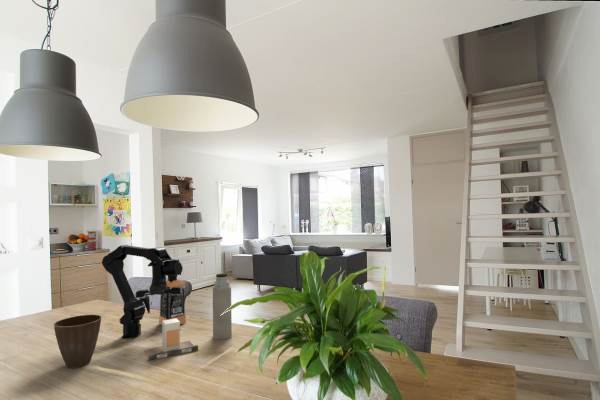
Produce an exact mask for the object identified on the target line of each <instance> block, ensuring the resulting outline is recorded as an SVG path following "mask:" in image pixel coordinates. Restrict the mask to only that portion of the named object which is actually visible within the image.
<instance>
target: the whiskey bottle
mask: <svg viewBox="0 0 600 400" xmlns="http://www.w3.org/2000/svg"><path fill="white" fill-rule="evenodd" d="M172 260H176V259H175V258H172ZM166 277H167V279H166V282H167V289H171V288H172V287H179V286H181V287H182V293H181V294H179V295H178V296H177V297H176V299H175V301H174V304H173V308H172V311H170V302H171V297H170V296H171V295H172V293H165V294H160V300H159V301H160V302H159V303H160V304H159V305H160V306H159V307H160V308H159V309H160V311H159V317H158V325H159V326H162V321H164V320H170V319H176V318H177V319H178V320H179V321H180V325H184V324H186V323H187V319H186V318H187V317H186V314H185V313H186V312H185V307H186V306H185V305H186V304H185V288H186V283H185V282H183V281H181V279H178V275H169V276H168V275H166Z"/></svg>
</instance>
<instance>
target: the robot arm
mask: <svg viewBox="0 0 600 400" xmlns="http://www.w3.org/2000/svg"><path fill="white" fill-rule="evenodd" d="M127 256H135V257H141V258H144V259H146V260H148V261H150V262H149V263H148V264H147V267H151V274H152V275H151V283H150V286H149V289H148V288H146V289H138V290H137V291H136V292H135V293H134V291H133V289H132V287H131V284H130V283H129V281H128V278H127V276H126V274H125V271H124V266H125V263H124V261H125V259H126V258H127ZM172 259H173V258H172V257H171V256H170V254H169V253H168V251H167V250H166V247H163V246H162V247H152V248H151V247H150V248H149V247H141V246H134V245H129V244H124V245H119V246H118V247H117V248H116V249H114V250H112V251H110V252H109V253H108V254H107V255H104V257H102V260H101V264H102V266H103V268H104V269H105V271H106V272H107V273H109V274H110V275H111V276H112V278H113V282H114V283H115V285H116V287H117V290H118V293H119V294H120V296H121V299H122V302H123V309H122V310H123V313H124V314H123V315H122V316H121V317H120V318H119V319H118V320H119V324H120V325H122V336H121V338H122V339H127V338H137V337H138V336H139V335H141V333H142V324H141V322H140V321H141V320H143V317H144V316H145V313H146V311H147V313H148V314H150V313H151V311H150V310H151V306H150V305H151V304H150V303H151V302H150V296H154V295H158V296H159V295H160V296H161V294H165V293H172V295H171V296H170V297H171V302H170V311H172V308H173V304H174V301H175V299H176V297H177V296H178V295H179V294H181V293H182V287H181V286H179V287H172V288H171V289H167V282H166V281H167V277H168V276H169V275H177V276H180V275H181V274H182V273H183V264H182V263H181V262H180V259H175V260H172ZM167 275H168V276H167Z"/></svg>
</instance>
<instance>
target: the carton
mask: <svg viewBox="0 0 600 400" xmlns="http://www.w3.org/2000/svg"><path fill="white" fill-rule="evenodd" d="M161 326H162V327H161V328H162V329H161V331H162V332H161V339H162V341H161V343H162V344H161V346H162V351H163V352H166V351H171V350H175V349H180V342H181V324H180V321H179V320H178V319H177V318H176V319H170V320H164V321H162V325H161Z"/></svg>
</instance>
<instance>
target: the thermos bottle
mask: <svg viewBox="0 0 600 400" xmlns="http://www.w3.org/2000/svg"><path fill="white" fill-rule="evenodd" d="M215 277H216V278H215V281H213V282H214V284H213V287H212V337H213V339H214V340H226V339H232V338H233V337H232V336H233V333H232V332H233V331H232V326H233V325H232V324H233V323H232V309H231V310H230V311H228V312H226V313H224V314H223V315H221V314H222V313H223V312H224V311H225V310H226V309H227V308H229V307H230V306H231V307H232V286H231V285H230V283H231V282H230V281H229V280H228V273H217V274H216V275H215ZM220 315H221V316H220Z"/></svg>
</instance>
